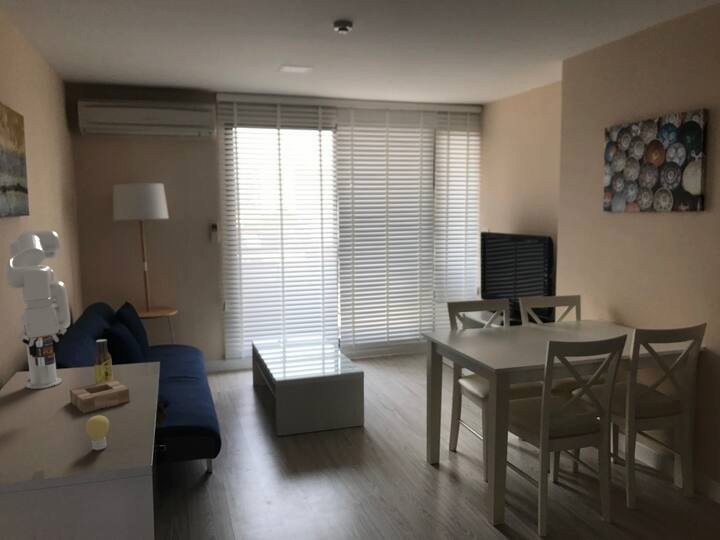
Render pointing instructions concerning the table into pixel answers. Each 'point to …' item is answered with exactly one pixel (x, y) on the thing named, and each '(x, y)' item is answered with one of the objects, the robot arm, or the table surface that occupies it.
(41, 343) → the pill bottle
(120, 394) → the socket block
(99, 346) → the sauce bottle
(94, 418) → the light bulb
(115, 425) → the table surface
